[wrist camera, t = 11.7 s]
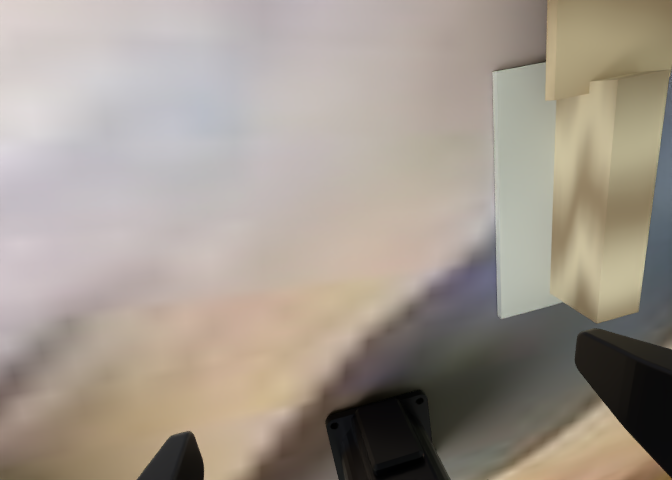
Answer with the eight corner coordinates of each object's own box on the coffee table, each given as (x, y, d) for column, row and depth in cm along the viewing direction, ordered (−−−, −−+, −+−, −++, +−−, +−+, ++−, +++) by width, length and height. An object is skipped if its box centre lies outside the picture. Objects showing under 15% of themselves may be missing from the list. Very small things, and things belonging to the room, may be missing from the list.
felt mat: (625, 281, 25) (631, 283, 25) (497, 315, 24) (501, 319, 23) (653, 42, 20) (660, 40, 19) (492, 71, 19) (497, 71, 18)
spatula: (611, 276, 24) (666, 303, 21) (523, 300, 23) (566, 331, 20) (649, -115, 17) (742, -166, 14) (525, -98, 16) (593, -148, 13)
